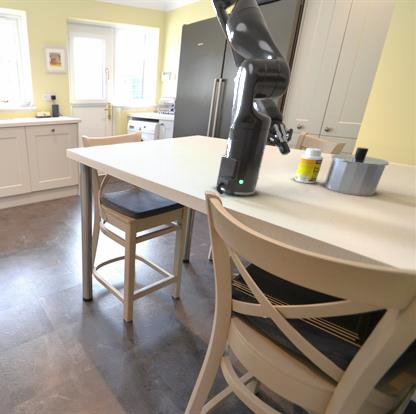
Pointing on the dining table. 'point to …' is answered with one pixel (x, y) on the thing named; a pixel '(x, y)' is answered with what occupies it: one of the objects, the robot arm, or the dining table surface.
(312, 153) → the supplement bottle
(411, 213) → the dining table surface
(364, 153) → the pot lid
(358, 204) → the dining table surface
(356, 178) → the pot
